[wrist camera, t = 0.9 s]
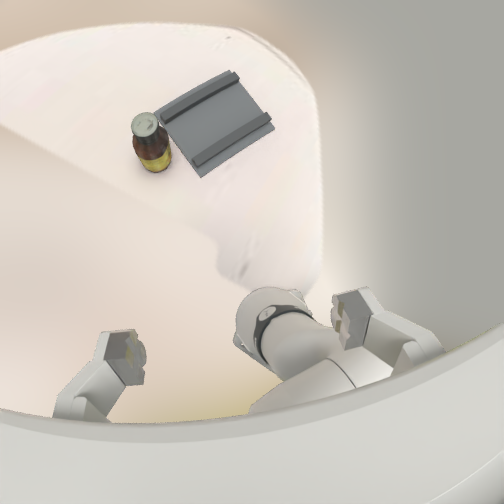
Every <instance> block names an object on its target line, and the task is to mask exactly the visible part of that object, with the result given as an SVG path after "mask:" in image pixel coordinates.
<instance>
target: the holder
mask: <svg viewBox="0 0 504 504" xmlns="http://www.w3.org/2000/svg"><path fill="white" fill-rule="evenodd" d="M239 79H240V78H239V76H238V75H237V74H236V73H235V72H233V73H231V71H230V70H228V71H226V72H224V73H222V74H220V75H218V76H216V77H214V78H212V79H210V80H208V81H207V82H205V83H203V84H201V85H199V86H197V87H195V88H194V89H192V90H190V91H188V92H187V93H185V94H183V95H181V96H180V97H178V98H176V99H175V100H173V101H171V102H170V103H168V104H167V105H165V106H163V107H162V108H160V109H159V110H157V111H155V112H154V115H155V116H156V117H157V119H158V120H159V122H160V123H161V124H162V126H163V127H164V128H165V130H166V131H167V132H168V134H169V135H170V137H171V138H172V139H173V141H174V142H175V143H176V145H177V146H178V148H179V149H180V150H181V152H182V153H183V154H184V156H185V157H186V158H187V160H188V161H189V163H190V164H191V165H192V167H193V168H194V169H195V171H196V172H197V174H198V175H199V176H200V178H201V177H202V176H204V175H205V174H207V173H208V172H210V171H211V170H213V169H214V168H215V167H217V166H218V165H220V164H221V163H223V162H224V161H226V160H227V159H229V158H230V157H232V156H233V155H235V154H236V153H238V152H239V151H241V150H242V149H244V148H246V147H247V146H249V145H250V144H252V143H253V142H255V141H257V140H258V139H260V138H261V137H263V136H265V135H266V134H268V133H269V132H271V131H273V130H274V129H275V127H274V126H273V125H272V123H271V122H270V120H271V119H272V118H271V117H270V116H269V114H268V113H267V112H265V113H263V111H262V110H261V109H260V108H259V106H258V105H257V104H256V102H255V101H254V100H253V98H252V97H251V96H250V95H249V93H248V92H247V91H246V90H245V88H244V87H243V86H242V85H241V83H240V82H239Z"/></svg>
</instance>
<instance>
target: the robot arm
mask: <svg viewBox="0 0 504 504" xmlns="http://www.w3.org/2000/svg"><path fill="white" fill-rule="evenodd" d="M332 303H333V305H334V307H333V308H332V309H331V322H332V325H333V328H332V327H326V326H323V325H322V324H320V323H318V322H317V321H316V320H314V319H313V318H312V312H311V311H310V310H308V308H307V306H306V304H305V301H304V299H303V296H302V294H301V292H300V291H298V290H282V289H279V288H275V287H265V288H261V289H258V290H255V291H254V292H252V293H250V294H249V295H248V296H247V297H246V298H245V299H244V300H243V301H242V303H241V304H240V306H239V308H238V311H237V314H236V332H235V335H234V338H233V343H234V344H235V346H237V347H238V348H239V349H241V350H242V351H243V352H245V353H246V354H248V355H249V356H250V357H252V358H253V359H255V360H256V361H257V362H259V363H260V364H262V365H263V366H265V367H266V368H267V369H269V370H270V371H272V372H273V373H275V374H276V375H277V376H278V377H279V378H280V379H281V380H282V381H284V382H282V383H280V384H279V385H278V386H276V387H275V388H273V389H272V390H271V391H269V392H268V393H267V394H265V395H264V396H263V397H261V398H260V399H259V400H258V401H256V402H255V403H254V404H252V405H251V407H250V410H249V413H248V414H245V415H239V416H232V417H225V418H217V419H207V420H197V421H184V422H167V423H111V422H110V421H109V420H108V419H107V418H106V416H107V415H108V413H109V412H110V410H111V409H112V407H113V406H114V404H115V403H116V401H117V399H118V398H119V396H120V395H121V394H122V392H123V391H124V389H125V388H126V386H132V385H143V383H144V374H145V371H144V370H143V368H142V367H143V366H144V365H145V364H146V351H145V347H144V345H143V343H142V342H141V341H139V340H138V339H137V338H138V334H137V333H136V331H135V330H134V329H128V330H115V331H105V332H101V334H100V335H99V339H98V343H97V346H96V349H95V353H94V357H93V360H92V361H89V362H88V363H87V364H86V365H85V366H84V368H83V369H82V370H81V371H80V372H79V373H78V374H77V375H76V376H75V377H74V378H73V379H72V380H71V381H70V382H69V383H68V385H67V386H66V387H65V388H64V389H63V390H62V391H61V392H60V393H59V394H58V397H57V400H56V404H55V408H54V413H53V417H52V418H50V417H43V416H37V415H31V414H25V413H20V412H15V411H10V410H6V409H1V408H0V504H504V323H499V324H497V325H495V326H494V327H492V328H490V329H489V330H487V331H486V332H484V333H482V334H480V335H478V336H477V337H475V338H473V339H471V340H470V341H467V342H466V343H464V344H462V345H460V346H458V347H456V348H454V349H452V350H450V351H448V352H446V351H445V350H444V348H443V347H442V345H441V344H440V343H439V341H438V340H437V338H436V337H435V335H434V334H433V332H431V331H429V330H427V329H425V328H423V327H421V326H419V325H417V324H415V323H413V322H410V321H408V320H406V319H404V318H402V317H400V316H398V315H396V314H394V313H392V312H390V311H384V309H383V308H382V306H381V305H380V303H379V302H378V300H377V299H376V298H375V296H374V295H373V293H372V292H371V290H370V289H369V288H368V287H367V286H366V287H362V288H358V289H355V290H350V291H346V292H342V293H338V294H334V295H333V297H332ZM242 343H243V344H244V345H241V344H242Z"/></svg>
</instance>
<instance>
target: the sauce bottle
mask: <svg viewBox="0 0 504 504" xmlns="http://www.w3.org/2000/svg"><path fill="white" fill-rule="evenodd" d="M131 129H132V132H133V134H134V135H133V147H134V149H135V152H136V154H137V156H138V157H139V159H140V161H141V162H142V164H143V166H144V167H145V168H146V169H148V170H149V171H152V172H160V171H163V170H165V169H166V168H167V167H168V165H169V163H170V161H171V149H170V143H169V137H168V134H167V132H166V130H165V129H164V128H163V127H161V126H159V122H158V119H157V117H156V116H155V115H154V114H152V113H148V112H145V113H141V114H139V115H137V116H136V117H135V118H134V119H133V121H132V124H131Z"/></svg>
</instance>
